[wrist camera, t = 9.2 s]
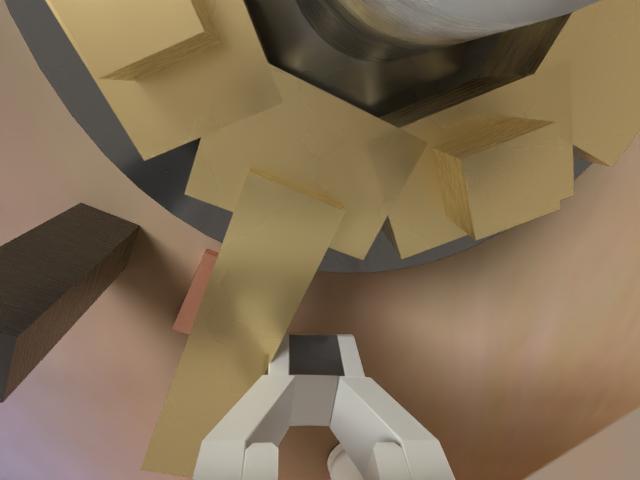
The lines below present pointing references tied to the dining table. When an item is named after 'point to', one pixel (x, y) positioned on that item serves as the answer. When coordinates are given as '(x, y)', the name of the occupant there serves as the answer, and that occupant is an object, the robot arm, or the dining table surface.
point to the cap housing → (175, 165)
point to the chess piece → (342, 465)
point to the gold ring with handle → (341, 162)
